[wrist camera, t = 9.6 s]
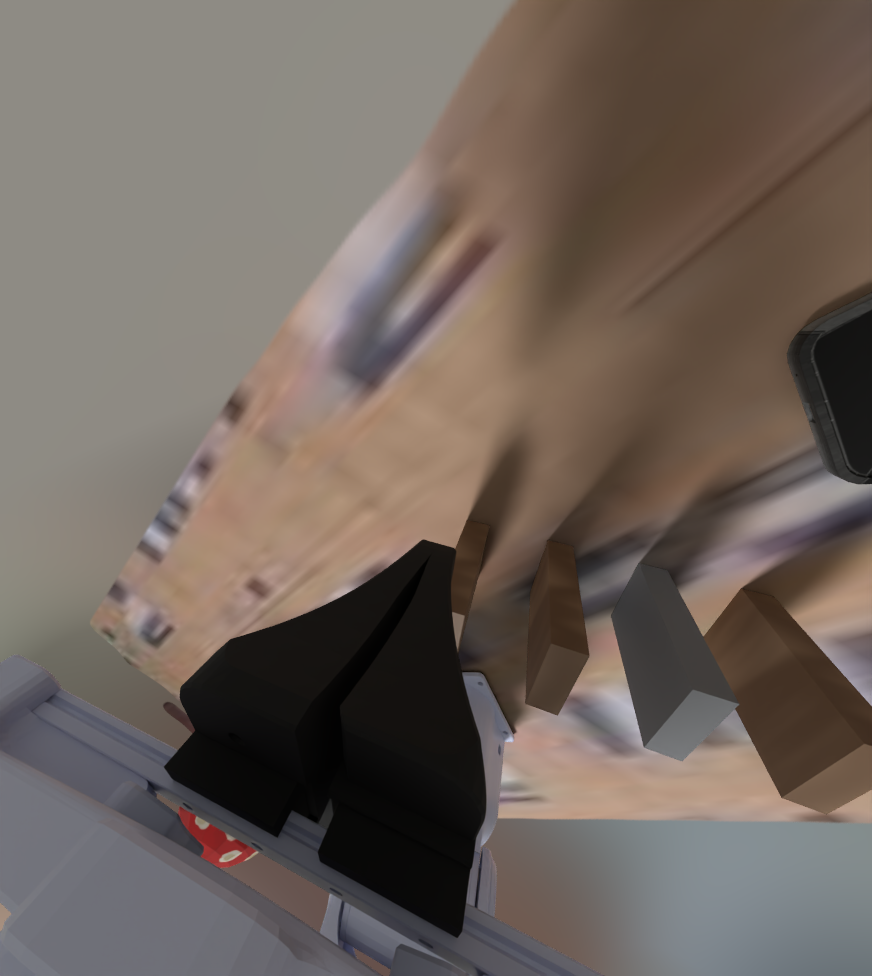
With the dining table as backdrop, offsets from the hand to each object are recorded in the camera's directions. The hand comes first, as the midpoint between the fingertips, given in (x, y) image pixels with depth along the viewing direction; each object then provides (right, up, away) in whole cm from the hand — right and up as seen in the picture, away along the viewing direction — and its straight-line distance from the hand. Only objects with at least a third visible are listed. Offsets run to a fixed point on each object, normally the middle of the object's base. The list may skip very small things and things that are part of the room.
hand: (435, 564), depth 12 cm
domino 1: (+3, -2, +11) cm, 11 cm away
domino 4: (+18, -5, +7) cm, 20 cm away
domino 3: (+13, -4, +8) cm, 16 cm away
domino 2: (+8, -3, +10) cm, 13 cm away
